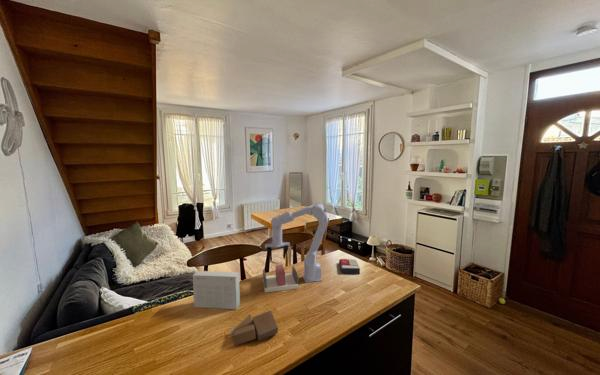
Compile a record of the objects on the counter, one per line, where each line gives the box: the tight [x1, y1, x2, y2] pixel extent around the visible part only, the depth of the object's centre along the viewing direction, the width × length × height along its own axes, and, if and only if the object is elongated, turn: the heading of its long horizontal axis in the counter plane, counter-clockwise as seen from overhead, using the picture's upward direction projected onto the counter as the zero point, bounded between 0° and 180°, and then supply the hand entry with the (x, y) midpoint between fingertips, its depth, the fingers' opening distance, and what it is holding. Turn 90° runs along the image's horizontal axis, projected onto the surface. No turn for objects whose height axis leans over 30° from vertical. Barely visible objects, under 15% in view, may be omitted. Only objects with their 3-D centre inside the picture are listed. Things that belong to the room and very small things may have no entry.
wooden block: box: [230, 310, 279, 346], centre depth 100 cm, size 8×13×18 cm
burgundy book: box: [274, 264, 286, 286], centre depth 136 cm, size 4×10×7 cm, turn 13°
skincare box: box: [192, 270, 241, 310], centre depth 117 cm, size 21×6×16 cm, turn 84°
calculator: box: [338, 258, 361, 275], centre depth 156 cm, size 11×4×15 cm
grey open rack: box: [262, 266, 300, 293], centre depth 137 cm, size 18×14×6 cm
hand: (277, 258), depth 146 cm, fingers open, 7 cm apart
